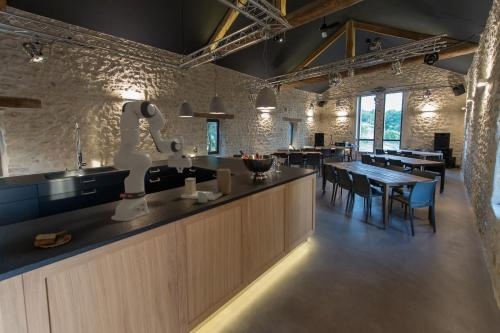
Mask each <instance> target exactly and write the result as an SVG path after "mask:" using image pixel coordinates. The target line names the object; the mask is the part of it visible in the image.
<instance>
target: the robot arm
mask: <svg viewBox="0 0 500 333" xmlns="http://www.w3.org/2000/svg"><path fill="white" fill-rule="evenodd" d="M143 119H146V120H145V121H146V122H147V123H148V132H149V134H150V136H151V138H152V140H153V143H154V146H155V149H156V150H157V152H158V153H160V154H164V153H170V154H171V153H172V154H173V155H169V156H168V157H167V166H168V168H176V170H177V173H178V174H179V173H181V174H183V170H184V168H192V166H193V162H192V158H191V154H189V153H186V152H185V151H186V150H185V139H184V137H183V136H182V135H177V134H175V135H173V136H172V138H171V139H169V140H168V139H163V138H162V137H161V135H160V131H162V130H163V128H164V127H165V126H166V120H165V117H164V115H163V114H162V112H161V111H160V109H159V107H157V105H156V104H154V103H153V102H151V101H148V100H144V101H143V100H142V101H141V100H134V101H128V102H125V103H123V105H122V106H121V113H120V116H119V134H120V145H119V149H118V150H117V152H116V153H115V154H114V156H113V159H112V162H113V165H114V167H116V168H119V169H122V170H129V175H128V176H127V177H125V179H124V193H120V195H119V197H120V198H122V200H121V201H120V203H119V204H118V205H117V206H116V207H115V212H114V215H112V216H111V220H113V221H118V222H119V221H121V222H128V221H129V222H130V221H132V220H135V219H138V218H140V217H143V216H146V215H148V214H150V210H149V208H148V202H147V199H146V190H145V176H146V173H147V171H148V169H150V168H151V167H152V164H153V158H152V156H151V155H150V154H148V153H146V152H142V151H140V152H139V151H136V149H137V146H138V145H139V144H140V143H141V142H142V140H141V128H140V120H143Z"/></svg>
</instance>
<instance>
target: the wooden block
mask: <svg viewBox="0 0 500 333" xmlns="http://www.w3.org/2000/svg"><path fill="white" fill-rule="evenodd" d="M231 174H232V173H231V168H218V169H217V170H216V187H219V192H220V193H222V195H229V194H230V193H231V191H232V184H231V183H232V180H231V179H232V178H231V177H232V176H231Z"/></svg>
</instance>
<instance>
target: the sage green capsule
mask: <svg viewBox="0 0 500 333" xmlns="http://www.w3.org/2000/svg"><path fill="white" fill-rule="evenodd" d="M199 191H200V192H198V199H197V203H200V204H203V203H204V204H205V203H208V200H207V192H208V191H206V190H199Z"/></svg>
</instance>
